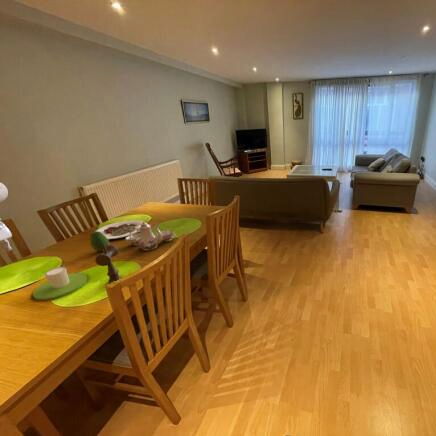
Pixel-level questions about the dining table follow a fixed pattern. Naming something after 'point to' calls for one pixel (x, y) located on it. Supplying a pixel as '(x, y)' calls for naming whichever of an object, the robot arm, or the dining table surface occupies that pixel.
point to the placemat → (49, 292)
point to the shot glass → (57, 277)
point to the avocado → (98, 241)
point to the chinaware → (149, 237)
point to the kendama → (109, 261)
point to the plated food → (120, 229)
